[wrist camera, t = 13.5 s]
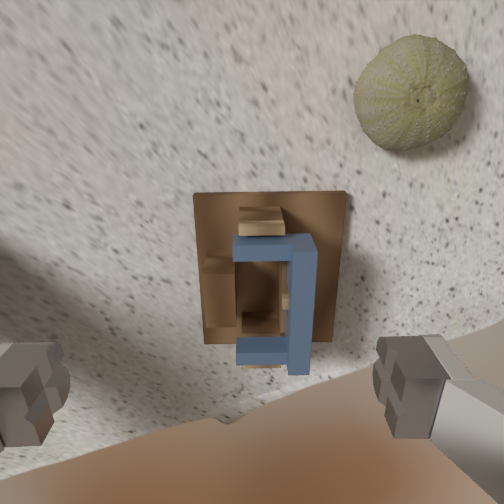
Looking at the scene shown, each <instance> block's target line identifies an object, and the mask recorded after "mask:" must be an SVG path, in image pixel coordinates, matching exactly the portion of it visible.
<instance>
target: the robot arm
mask: <svg viewBox="0 0 504 504" xmlns="http://www.w3.org/2000/svg"><path fill="white" fill-rule="evenodd" d="M376 351H377V353H378V355H379V357H380V358H379V359H378V360H377V361H376V362H375V363H374V365H373V385H374V390H375V393H376V396H377V398H378V401H379V402H381V403H382V404H383V405H384V406H386V408H385V414H384V416H385V418H386V421H387V423H388V426H389V428H390V430H391V433H392V435H393V438H408V439H409V438H410V439H412V438H413V439H418V438H419V439H430V441H431V442H432V443H433V444H434V445H435V446H436V447H437V448H438V449H440V450H441V451H442V452H443V453H444V454H445V455H446V456H447V457H448V458H449V459H450V460H451V461H453V462H454V463H455V464H456V465H457V466H458V467H459V468H460V469H461V470H462V471H463V472H464V473H466V474H467V475H468V476H469V477H470V478H471V479H472V480H473V481H474V482H475V483H476V484H478V485H479V486H480V487H481V488H482V489H483V490H484V491H485V492H486V493H487V494H488V495H490V496H491V497H492V498H493V499H494V500H495V501H496V502H497V503H498V504H504V392H503V391H502V390H500V389H498V388H497V387H495V386H493V385H491V384H489V383H487V382H486V381H484V380H482V379H475V378H474V377H473V375H472V374H471V373H470V372H469V370H468V369H467V368H466V366H464V364H463V362H462V361H461V360H460V358H459V357H458V356H457V355H456V353H455V352H454V351H453V349H452V348H451V347H450V345H449V344H448V343H447V341H446V340H445V339H444V338H443V337H442V336H441V335H439V334H435V335H419V336H391V337H379V339H378V341H377V346H376ZM63 356H64V353H63V350H62V347H61V345H60V344H58V343H56V342H17V343H15V342H0V453H1V452H2V451H3V450H4V447H22V446H41V445H42V443H43V441H44V440H45V438H46V436H47V434H48V432H49V431H50V429H51V427H52V425H53V423H54V419H53V416H52V414H54V413H55V412H56V411H58V410H59V409H60V408H62V407H63V405H64V403H65V401H66V399H67V398H68V393H69V389H70V375H69V371H68V369H67V368H66V367H65V366H64V365H63V364H62V363H60V361H61V360H62V358H63Z"/></svg>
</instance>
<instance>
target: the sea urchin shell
mask: <svg viewBox="0 0 504 504" xmlns="http://www.w3.org/2000/svg"><path fill="white" fill-rule="evenodd" d="M468 76H469V75H468V72H467V69H466V65H465V63H464V62H463V61H462V60H461V59H460V58H459V56H458V55H457V54H456V51H455V50H454V49H451V48H450V47H448V46H446V45H445V44H443V43H442V42H440V41H439V40H438V39H436V38H431V37H426V36H421V35H410V36H406V37H405V36H404V37H402V38H400V39H399V40H397V41H395V42H393V43H392V44H390V45H389V46H387V47H385V48H384V49H383V50H382V51H381V52H380V53H379V54H378V55H377V56H376V57H375V58H374V59H373V60H372V61H371V62H370V63H369V64H367V67H366V68H365V70H364V71H363V73H362V75H361V76H360V77H359V79H358V81H357V82H356V83H357V84H356V86H355V91H354V93H353V94H354V101H355V110H356V112H355V113H356V114H357V117H358V119H359V121H360V124H361V127H362V130H363V132H365V133H366V135H367V136H368V137H369V138H370V139H371V140H372V141H373V142H374V143H375V144H376V145H378V146H380V147H383V148H384V149H396V150H405V149H407V150H408V149H409V148H413V147H419V146H422V145H425V144H427V143H429V142H431V141H433V140H435V139H437V138H440V137H442V136H443V135H444V134H445V133H446V132H447V131H449V130H450V128H451V127H452V125H453V124H454V123H455V121H456V119H457V118H458V117H459V116H460V114H461V111H462V107H463V104H464V101H465V99H466V95H467V85H468Z"/></svg>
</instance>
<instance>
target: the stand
mask: <svg viewBox="0 0 504 504" xmlns="http://www.w3.org/2000/svg"><path fill="white" fill-rule="evenodd" d="M346 195H347V193H346V192H345V191H289V192H215V193H194V194H193V204H194V216H195V229H196V242H197V255H198V268H199V281H200V294H201V307H202V319H203V332H204V344H236V340H237V337H283V336H285V317H286V309H288V302H289V291H288V286H287V261H245V262H233V250H232V244H233V235H236V234H239V236H259V235H285V234H303V233H310V234H311V236H312V239H313V241H314V244H315V246H316V249H317V251H318V258H317V272H316V286H315V300H314V314H313V328H312V342H332V336H333V326H334V316H335V306H336V296H337V286H338V276H339V266H340V255H341V245H342V235H343V225H344V215H345V205H346ZM242 368H281V365H242Z"/></svg>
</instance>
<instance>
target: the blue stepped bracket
mask: <svg viewBox="0 0 504 504" xmlns="http://www.w3.org/2000/svg"><path fill="white" fill-rule="evenodd" d="M232 250H233V262H245V261H287V286H288V291H289V302H288V309H286V317H285V336H283V337H237V340H236V365H285V364H287V369H288V375H309V371H310V357H311V343H312V328H313V314H314V300H315V286H316V272H317V258H318V251H317V249H316V246H315V244H314V241H313V239H312V236H311V234H310V233H303V234H285V235H259V236H239V234H236V235H233V244H232Z"/></svg>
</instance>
